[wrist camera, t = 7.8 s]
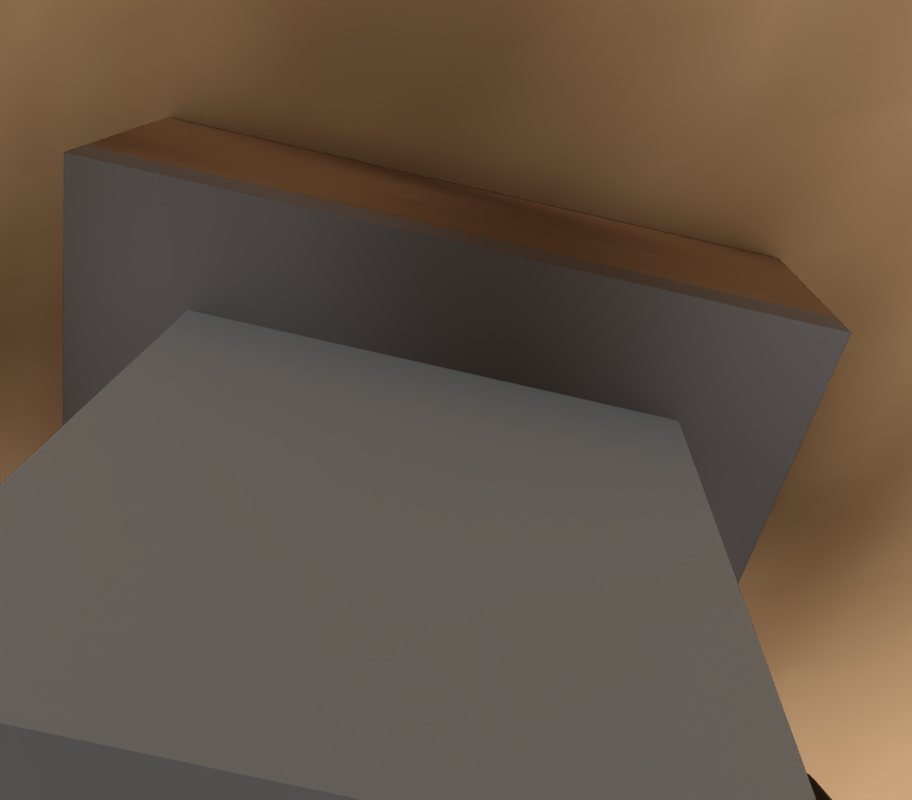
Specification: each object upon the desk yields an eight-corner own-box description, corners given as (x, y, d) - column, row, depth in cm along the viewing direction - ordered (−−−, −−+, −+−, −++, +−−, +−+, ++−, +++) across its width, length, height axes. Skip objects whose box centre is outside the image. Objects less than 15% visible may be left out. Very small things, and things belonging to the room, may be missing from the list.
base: (139, 604, 16) (61, 729, 13) (167, 118, 12) (63, 152, 9) (603, 705, 16) (618, 846, 13) (779, 258, 12) (851, 333, 9)
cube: (160, 680, 13) (-114, 1192, 7) (187, 309, 10) (-211, 678, 5) (550, 763, 13) (569, 1326, 7) (678, 421, 10) (855, 902, 5)
